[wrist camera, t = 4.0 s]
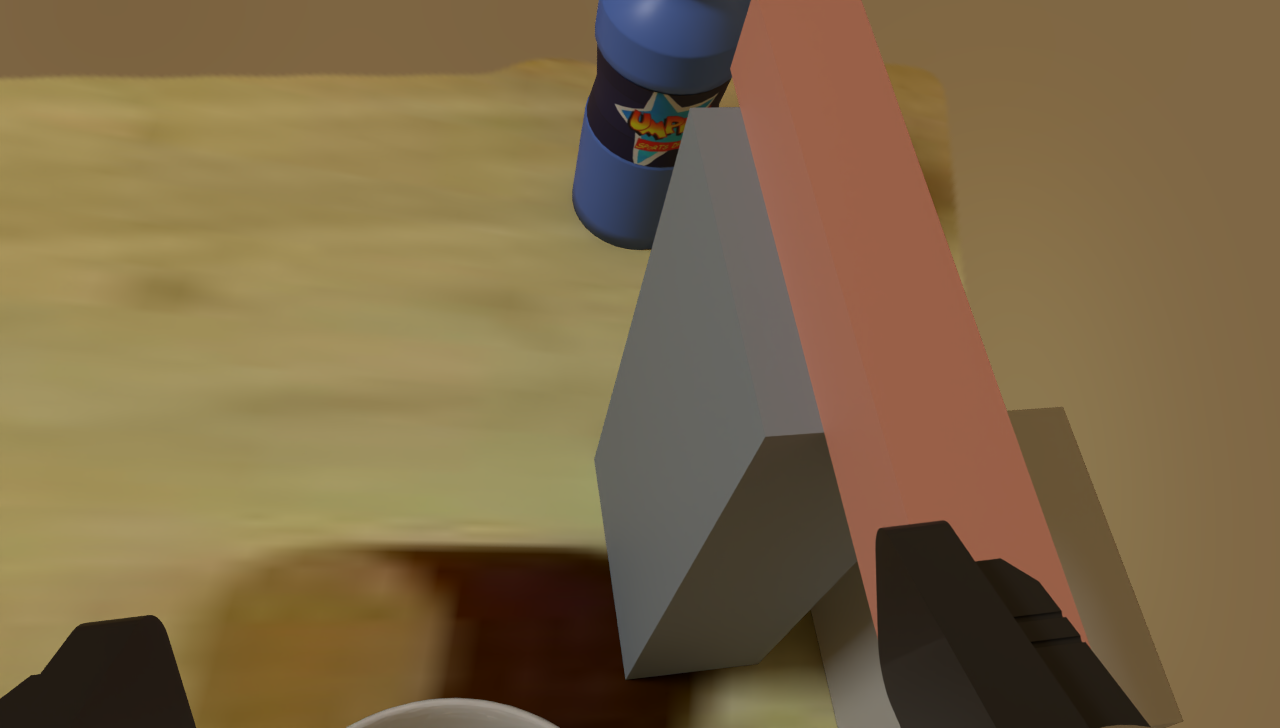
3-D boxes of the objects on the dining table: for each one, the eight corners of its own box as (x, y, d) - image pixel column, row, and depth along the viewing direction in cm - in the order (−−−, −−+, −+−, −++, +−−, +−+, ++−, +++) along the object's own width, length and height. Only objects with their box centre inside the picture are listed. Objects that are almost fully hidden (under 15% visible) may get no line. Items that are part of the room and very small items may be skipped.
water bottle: (564, 151, 80) (605, -149, 59) (684, 152, 82) (766, -140, 61) (576, 252, 76) (624, -34, 55) (703, 250, 78) (797, -27, 56)
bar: (1036, 735, 30) (1110, 704, 27) (907, 753, 30) (966, 723, 26) (825, 69, 43) (857, -11, 39) (730, 68, 42) (754, -13, 39)
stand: (956, 801, 61) (1370, 654, 33) (649, 848, 57) (831, 726, 30) (857, 439, 72) (1107, 105, 44) (594, 459, 68) (690, 107, 41)
